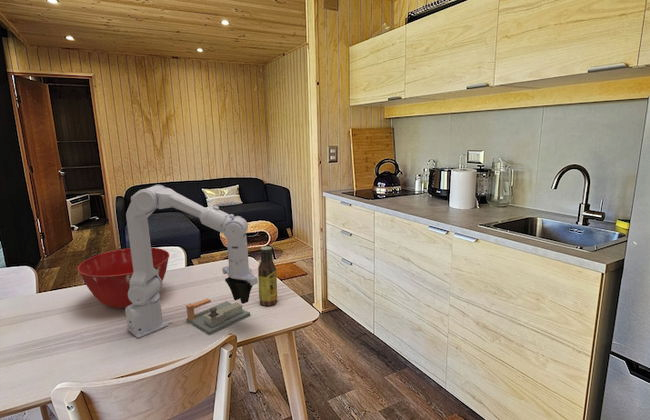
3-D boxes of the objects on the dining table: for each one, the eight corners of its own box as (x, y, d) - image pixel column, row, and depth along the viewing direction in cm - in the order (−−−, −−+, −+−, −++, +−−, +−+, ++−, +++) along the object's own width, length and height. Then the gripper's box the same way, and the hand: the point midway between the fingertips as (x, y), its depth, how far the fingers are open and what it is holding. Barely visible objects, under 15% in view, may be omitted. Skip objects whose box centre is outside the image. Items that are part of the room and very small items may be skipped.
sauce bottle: (274, 307, 126) (271, 251, 121) (256, 306, 127) (253, 250, 123) (280, 298, 132) (277, 245, 128) (263, 297, 133) (260, 244, 129)
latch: (212, 327, 111) (211, 319, 111) (204, 322, 114) (203, 315, 114) (244, 312, 120) (243, 305, 119) (235, 308, 123) (235, 301, 122)
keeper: (190, 320, 116) (189, 306, 115) (187, 318, 117) (186, 305, 116) (211, 311, 121) (210, 298, 120) (208, 309, 123) (207, 296, 122)
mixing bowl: (187, 284, 145) (183, 247, 142) (146, 321, 118) (140, 276, 114) (119, 282, 148) (114, 246, 145) (63, 318, 121) (55, 274, 117)
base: (209, 335, 109) (207, 317, 108) (186, 320, 118) (184, 304, 116) (250, 315, 120) (249, 299, 119) (226, 303, 129) (225, 288, 127)
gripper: (264, 259, 108) (267, 303, 111) (234, 249, 117) (237, 289, 120) (245, 266, 102) (248, 311, 105) (215, 255, 112) (218, 297, 115)
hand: (241, 300), depth 112 cm, fingers open, 3 cm apart
